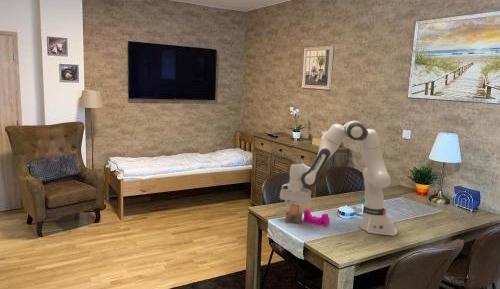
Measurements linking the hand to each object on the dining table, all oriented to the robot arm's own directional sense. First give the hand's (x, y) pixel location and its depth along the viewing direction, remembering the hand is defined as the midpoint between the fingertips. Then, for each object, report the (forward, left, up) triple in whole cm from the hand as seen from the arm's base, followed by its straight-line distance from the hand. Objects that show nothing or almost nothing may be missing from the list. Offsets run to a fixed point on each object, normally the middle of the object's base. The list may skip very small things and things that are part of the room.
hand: (294, 207), depth 246 cm
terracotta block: (0, 0, -4) cm, 4 cm away
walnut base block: (0, 0, -9) cm, 9 cm away
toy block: (-14, -4, -9) cm, 17 cm away
